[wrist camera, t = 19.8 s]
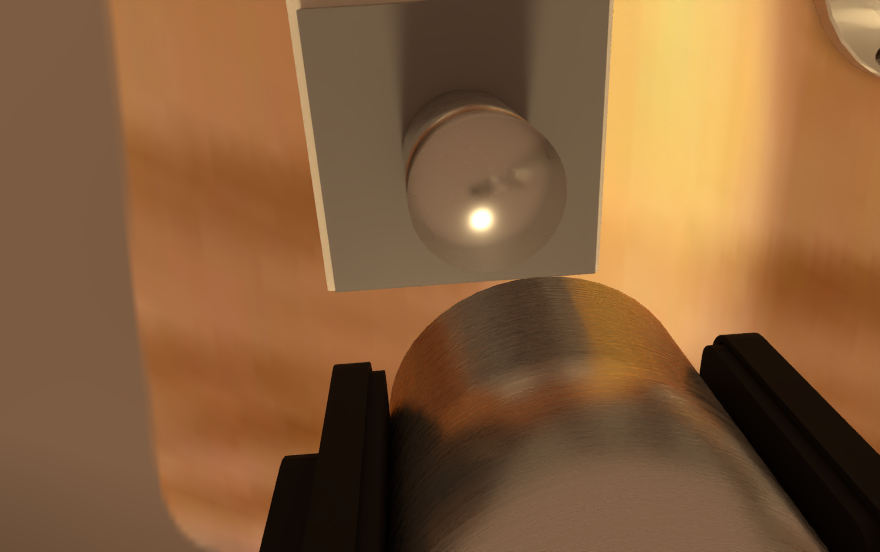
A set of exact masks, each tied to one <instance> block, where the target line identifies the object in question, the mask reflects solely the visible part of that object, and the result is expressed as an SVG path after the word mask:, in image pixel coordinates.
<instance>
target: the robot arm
mask: <svg viewBox="0 0 880 552" xmlns="http://www.w3.org/2000/svg"><path fill="white" fill-rule="evenodd" d="M813 1H814V5H815V8H816V10H817V13H818V16H819V19H820V22H821V24H822V27H823V29H824V31H825V32H826V34H827V35H828V37H829V39H830V40H831V42H832V43H833V45H834V46H835V48H836V49H837V50H838V51H839V52H840V53H841V54H842V55H843V56H844V57H845V58H846V59H847V60H848V61H849V62H850V63H851V64H853V65H854V66H855V67H857V68H859V69H861V70H862V71H864V72H866V73H868V74H870V75H872V76H873V77H875V78H879V79H880V0H813ZM699 375H700V376H701V378H702V379H703V381H704V382H705V383H706V385H707V386H708V387H709V389H710V390H711V391H712V393H713V394H714V395H715V397H716V398H717V400H718V401H719V402H720V404H721V405H722V406H723V408H724V409H725V410H726V412H727V413H728V414H729V416H730V417H731V419H732V420H733V421H734V423H735V424H736V425H737V427H738V428H739V429H740V431H741V432H742V433H743V435H744V436H745V438H746V439H747V440H748V442H749V443H750V444H751V446H752V447H753V448H754V450H755V451H756V452H757V454H758V455H759V457H760V458H761V459H762V461H763V462H764V463H765V465H766V466H767V467H768V469H769V470H770V471H771V473H772V474H773V476H774V477H775V478H776V480H777V481H778V482H779V484H780V485H781V486H782V488H783V489H784V490H785V492H786V493H787V495H788V496H789V497H790V499H791V500H792V501H793V503H794V504H795V505H796V507H797V508H798V509H799V511H800V512H801V514H802V515H803V516H804V518H805V519H806V520H807V522H808V523H809V524H810V526H811V527H812V528H813V530H814V531H815V532H816V534H817V535H818V537H819V538H820V539H821V541H822V542H823V543H824V545H825V546H826V547H827V549H828V550H829V551H830V552H880V455H879V454H878V453H877V452H876V451H875V450H874V449H873V448H872V447H871V446H870V445H869V444H868V443H867V442H866V441H865V440H864V439H863V438H862V437H861V436H860V435H859V434H858V433H857V432H856V431H855V430H854V429H853V428H852V427H851V426H850V425H849V424H848V423H847V422H846V421H845V420H844V419H843V418H842V417H841V416H840V415H839V414H838V412H837V411H836V410H835V409H834V408H833V407H832V406H831V405H830V404H829V403H828V402H827V401H826V400H825V399H824V398H823V397H822V396H821V395H820V394H819V393H818V392H817V391H816V390H815V389H814V388H813V387H812V386H811V385H810V384H809V383H808V382H807V381H806V380H805V379H804V378H803V377H802V376H801V375H800V374H799V373H798V372H797V371H796V370H795V369H794V368H793V367H792V366H791V365H790V364H789V363H788V362H787V361H786V360H785V359H784V358H783V357H782V356H781V355H780V354H779V353H778V352H777V351H776V350H775V349H774V348H773V347H772V346H771V345H770V344H769V342H768V341H767V340H766V339H765V338H764V337H763V336H761V335H760V334H758V333H742V334H729V335H719V336H718V337H716V339H715V340H714V342H713V345H708V346H706V347H705V348H704V350H703V354H702V360H701V367H700V374H699ZM389 454H390V410H389V401H388V392H387V383H386V375H385V370H382V371H372V367H371V363H370V362H363V363H350V364H337V365H334V367H333V372H332V378H331V383H330V389H329V395H328V401H327V407H326V413H325V419H324V425H323V431H322V436H321V442H320V448H319V453H316V454H303V455H291V456H285V457H284V458H283V459H282V462H281V465H280V469H279V473H278V477H277V481H276V485H275V489H274V493H273V497H272V501H271V506H270V510H269V514H268V518H267V522H266V526H265V530H264V534H263V538H262V543H261V547H260V551H259V552H387V540H388V497H389Z"/></svg>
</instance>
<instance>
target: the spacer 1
mask: <svg viewBox="0 0 880 552" xmlns="http://www.w3.org/2000/svg"><path fill="white" fill-rule="evenodd" d="M402 158H403V168H404V177H405V185H406V194H407V202H408V210H409V214H410V219H411V222H412V224H413V227H414V229H415V231H416V233H417V235H418V237H419V238H420V240H421V241H422V242H423V244H424V245H425V246H426V247H427V248H428V249H429V250H430V251H431V252H432V253H433V254H434V255H435V256H437V257H438V258H439V259H441V260H443V261H444V262H446V263H448V264H450V265H452V266H454V267H457V268H460V269H464V270H469V271H475V272H491V271H498V270H503V269H507V268H510V267H513V266H515V265H517V264H519V263H522V262H524V261H525V260H527V259H528V258H530V257H532V256H533V255H534V254H535V253H537V252H538V251H539V250H540V249H541V248H542V247H543V246H544V245H545V244H546V243H547V242H548V241H549V240H550V238H551V237H552V236H553V234H554V233H555V231H556V229H557V227H558V226H559V223H560V221H561V219H562V216H563V213H564V210H565V206H566V199H567V181H566V175H565V170H564V167H563V164H562V162H561V159H560V157H559V155H558V154H557V152H556V150H555V148H554V147H553V146H552V145H551V143H550V142H549V141H548V140H547V139H546V138H545V137H544V136H543V135H542V134H541V133H540V132H539V131H537V130H536V129H535V128H534V127H533V126H531V125H530V124H529V123H528V122H527V121H526V120H524V119H523V118H522V117H521V116H520V115H518V114H517V113H516V112H515V111H514V110H512V109H511V108H510V107H509V106H508V105H507V104H505V103H504V102H503V101H501V100H500V99H498V98H497V97H495V96H493V95H491V94H488V93H485V92H482V91H477V90H468V89H466V90H456V91H451V92H447V93H445V94H442V95H440V96H438V97H436V98H434V99H432V100H431V101H429V102H428V103H427V104H426V105H424V106H423V107H422V108H421V109H420V110H419V111H418V113H417V114H416V115H415V116H414V118H413V119H412V121H411V122H410V124H409V127H408V129H407V131H406V134H405V137H404V142H403V149H402Z"/></svg>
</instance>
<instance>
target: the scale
mask: <svg viewBox="0 0 880 552" xmlns="http://www.w3.org/2000/svg"><path fill="white" fill-rule="evenodd" d="M613 2H614V0H286V4H287V11H288V18H289V25H290V32H291V39H292V45H293V52H294V59H295V66H296V73H297V80H298V87H299V94H300V100H301V107H302V114H303V121H304V128H305V135H306V142H307V149H308V156H309V162H310V169H311V176H312V183H313V190H314V197H315V204H316V211H317V217H318V224H319V231H320V238H321V245H322V252H323V259H324V266H325V272H326V279H327V286H328V291H336V292H347V291H361V290H374V289H388V288H402V287H415V286H429V285H443V284H456V283H470V282H484V281H498V280H511V279H525V278H535V277H552V276H566V275H580V274H594V273H595V271H598V269H599V251H600V233H601V216H602V198H603V180H604V162H605V144H606V127H607V109H608V91H609V73H610V55H611V38H612V20H613ZM466 89H468V90H477V91H482V92H485V93H488V94H491V95H493V96H495V97H497V98H498V99H500V100H501V101H503V102H504V103H505V104H507V105H508V106H509V107H510V108H511V109H512V110H514V111H515V112H516V113H517V114H518V115H520V116H521V117H522V118H523V119H524V120H526V121H527V122H528V123H529V124H530V125H531V126H533V127H534V128H535V129H536V130H537V131H539V132H540V133H541V134H542V135H543V136H544V137H545V138H546V139H547V140H548V141H549V142H550V143H551V145H552V146H553V147H554V148H555V150H556V152H557V154H558V155H559V157H560V159H561V162H562V164H563V167H564V170H565V175H566V181H567V199H566V206H565V210H564V213H563V216H562V219H561V221H560V223H559V226H558V227H557V229H556V231H555V233H554V234H553V236H552V237H551V238H550V240H549V241H548V242H547V243H546V244H545V245H544V246H543V247H542V248H541V249H540V250H539V251H538V252H537V253H535V254H534V255H533V256H532V257H530V258H528V259H527V260H525V261H524V262H522V263H519V264H517V265H515V266H513V267H510V268H507V269H503V270H498V271H491V272H475V271H469V270H464V269H460V268H457V267H454V266H452V265H450V264H448V263H446V262H444V261H443V260H441V259H439V258H438V257H437V256H435V255H434V254H433V253H432V252H431V251H430V250H429V249H428V248H427V247H426V246H425V245H424V244H423V242H422V241H421V240H420V238H419V237H418V235H417V233H416V231H415V229H414V227H413V224H412V222H411V219H410V214H409V210H408V202H407V194H406V185H405V177H404V168H403V158H402V149H403V142H404V137H405V134H406V131H407V129H408V127H409V124H410V122H411V121H412V119H413V118H414V116H415V115H416V114H417V113H418V111H419V110H420V109H421V108H422V107H423V106H424V105H426V104H427V103H428V102H429V101H431V100H432V99H434V98H436V97H438V96H440V95H442V94H445V93H447V92H451V91H456V90H466Z"/></svg>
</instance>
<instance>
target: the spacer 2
mask: <svg viewBox="0 0 880 552" xmlns="http://www.w3.org/2000/svg"><path fill="white" fill-rule="evenodd" d="M387 552H830V551H829V550H828V549H827V547H826V546H825V545H824V543H823V542H822V541H821V539H820V538H819V537H818V535H817V534H816V532H815V531H814V530H813V528H812V527H811V526H810V524H809V523H808V522H807V520H806V519H805V518H804V516H803V515H802V514H801V512H800V511H799V509H798V508H797V507H796V505H795V504H794V503H793V501H792V500H791V499H790V497H789V496H788V495H787V493H786V492H785V490H784V489H783V488H782V486H781V485H780V484H779V482H778V481H777V480H776V478H775V477H774V476H773V474H772V473H771V471H770V470H769V469H768V467H767V466H766V465H765V463H764V462H763V461H762V459H761V458H760V457H759V455H758V454H757V452H756V451H755V450H754V448H753V447H752V446H751V444H750V443H749V442H748V440H747V439H746V438H745V436H744V435H743V433H742V432H741V431H740V429H739V428H738V427H737V425H736V424H735V423H734V421H733V420H732V419H731V417H730V416H729V414H728V413H727V412H726V410H725V409H724V408H723V406H722V405H721V404H720V402H719V401H718V400H717V398H716V397H715V395H714V394H713V393H712V391H711V390H710V389H709V387H708V386H707V385H706V383H705V382H704V381H703V379H702V378H701V376H700V375H699V374H698V372H697V371H696V370H695V368H694V367H693V366H692V364H691V363H690V362H689V360H688V359H687V357H686V356H685V355H684V353H683V352H682V351H681V349H680V348H679V347H678V345H677V344H676V343H675V341H674V340H673V339H672V337H671V336H670V334H669V333H668V332H667V330H666V329H665V328H664V326H663V325H662V324H661V322H660V321H659V320H658V319H657V318H656V317H655V316H654V315H653V314H652V313H651V312H650V311H649V310H648V309H647V308H645V307H644V306H643V305H641V304H640V303H639V302H637V301H636V300H635V299H633V298H631V297H629V296H627V295H626V294H624V293H622V292H620V291H618V290H616V289H613V288H611V287H608V286H605V285H603V284H600V283H596V282H592V281H587V280H583V279H577V278H568V277H535V278H527V279H520V280H515V281H511V282H507V283H503V284H499V285H496V286H493V287H490V288H488V289H485V290H483V291H480V292H477V293H475V294H473V295H472V296H470V297H468V298H466V299H464V300H462V301H460V302H458V303H457V304H455V305H454V306H452V307H451V308H449V309H448V310H447V311H445V312H444V313H442V314H441V315H440V316H439V317H438V318H436V319H435V320H434V321H433V322H432V323H431V324H430V325H429V326H427V327H426V328H425V330H424V331H423V332H422V333H421V334H420V335H419V337H418V338H417V339H416V340H415V341H414V343H413V344H412V346H411V347H410V349H409V350H408V352H407V353H406V355H405V356H404V358H403V360H402V362H401V365H400V367H399V369H398V371H397V373H396V377H395V380H394V383H393V387H392V391H391V399H390V454H389V497H388V540H387Z"/></svg>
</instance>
